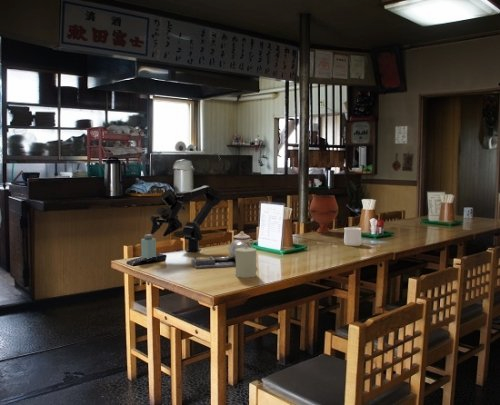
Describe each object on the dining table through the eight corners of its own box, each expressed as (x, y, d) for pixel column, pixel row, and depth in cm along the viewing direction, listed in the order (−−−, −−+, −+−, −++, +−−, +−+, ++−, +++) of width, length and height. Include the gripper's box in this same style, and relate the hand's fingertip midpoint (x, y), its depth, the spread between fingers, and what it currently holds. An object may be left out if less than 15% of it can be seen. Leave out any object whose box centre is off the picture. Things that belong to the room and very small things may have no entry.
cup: (362, 246, 280) (363, 229, 279) (345, 246, 280) (345, 229, 279) (359, 243, 289) (359, 227, 288) (342, 243, 290) (343, 227, 289)
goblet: (343, 232, 328) (344, 195, 326) (321, 235, 318) (322, 197, 316) (325, 228, 344) (325, 193, 342) (303, 231, 334) (304, 195, 332)
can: (255, 272, 217) (255, 246, 216) (256, 277, 208) (256, 250, 207) (235, 272, 217) (235, 246, 216) (235, 278, 208) (235, 250, 207)
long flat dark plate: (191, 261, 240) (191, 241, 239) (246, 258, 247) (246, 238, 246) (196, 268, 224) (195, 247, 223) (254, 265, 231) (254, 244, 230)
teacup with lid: (239, 255, 253) (239, 233, 252) (230, 252, 261) (230, 231, 259) (258, 253, 260) (258, 231, 259) (248, 250, 267) (248, 229, 266)
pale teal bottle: (149, 259, 244) (148, 233, 243) (156, 260, 241) (155, 234, 240) (141, 261, 240) (141, 235, 239) (148, 262, 237) (147, 236, 236)
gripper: (152, 200, 252) (136, 223, 245) (177, 202, 241) (161, 226, 234) (163, 213, 259) (148, 236, 252) (189, 216, 248) (173, 240, 241)
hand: (157, 235), depth 244 cm, fingers open, 9 cm apart
